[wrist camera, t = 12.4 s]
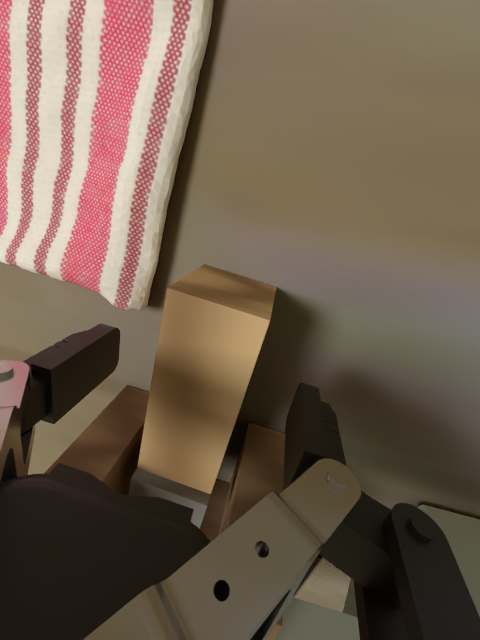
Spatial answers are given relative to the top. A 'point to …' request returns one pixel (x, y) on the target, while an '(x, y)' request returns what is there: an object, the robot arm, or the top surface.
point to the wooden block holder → (124, 448)
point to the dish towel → (94, 135)
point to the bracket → (342, 628)
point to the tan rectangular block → (199, 383)
